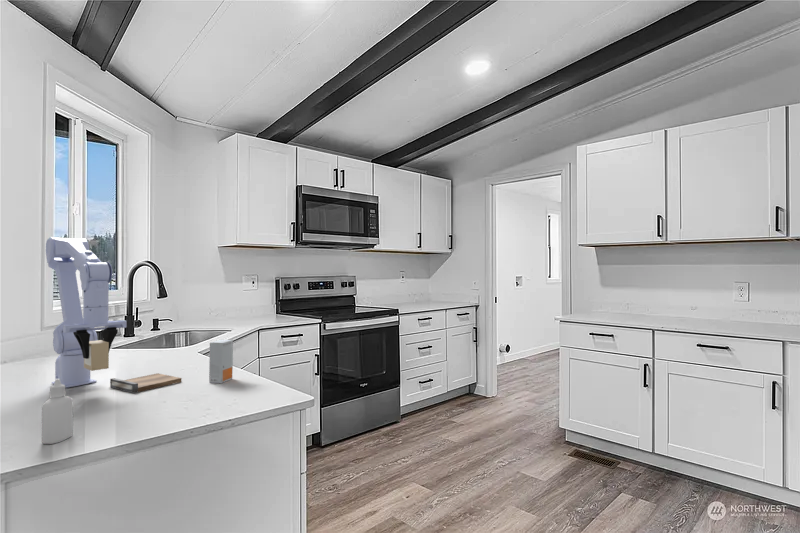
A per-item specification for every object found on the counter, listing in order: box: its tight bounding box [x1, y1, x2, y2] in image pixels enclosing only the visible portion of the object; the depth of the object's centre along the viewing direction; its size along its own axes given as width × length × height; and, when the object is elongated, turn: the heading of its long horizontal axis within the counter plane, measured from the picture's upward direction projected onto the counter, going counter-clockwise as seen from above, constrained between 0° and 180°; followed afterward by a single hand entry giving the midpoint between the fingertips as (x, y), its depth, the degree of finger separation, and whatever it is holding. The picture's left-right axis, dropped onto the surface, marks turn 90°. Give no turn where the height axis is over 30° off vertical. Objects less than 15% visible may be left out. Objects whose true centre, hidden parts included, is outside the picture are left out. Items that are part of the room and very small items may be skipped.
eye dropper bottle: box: [41, 379, 74, 445], centre depth 92 cm, size 4×6×12 cm
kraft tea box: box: [84, 339, 110, 372], centre depth 125 cm, size 4×6×7 cm, turn 50°
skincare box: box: [208, 339, 234, 384], centre depth 139 cm, size 6×4×12 cm
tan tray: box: [109, 373, 182, 394], centre depth 134 cm, size 12×14×2 cm
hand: (95, 356), depth 125 cm, fingers closed on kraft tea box, 4 cm apart
